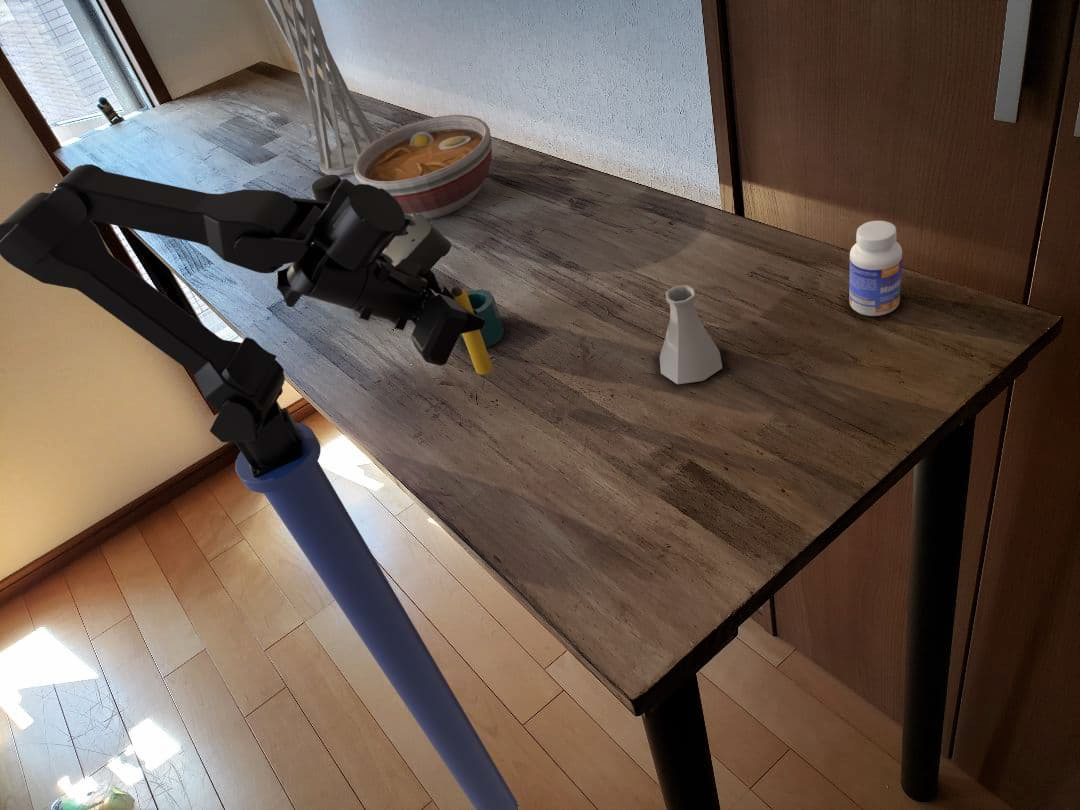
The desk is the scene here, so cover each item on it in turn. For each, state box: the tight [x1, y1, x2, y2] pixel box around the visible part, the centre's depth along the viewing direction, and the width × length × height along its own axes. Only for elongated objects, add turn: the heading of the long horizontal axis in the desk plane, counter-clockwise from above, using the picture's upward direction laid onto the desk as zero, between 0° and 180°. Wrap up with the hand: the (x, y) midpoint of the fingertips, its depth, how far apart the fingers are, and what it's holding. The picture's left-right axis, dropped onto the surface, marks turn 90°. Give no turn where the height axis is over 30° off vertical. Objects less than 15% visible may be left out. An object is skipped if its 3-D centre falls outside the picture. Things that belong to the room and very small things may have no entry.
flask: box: [659, 284, 723, 385], centre depth 93 cm, size 7×7×10 cm
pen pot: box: [460, 289, 505, 349], centre depth 108 cm, size 5×5×6 cm
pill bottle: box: [848, 220, 903, 317], centre depth 93 cm, size 5×5×10 cm
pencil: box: [450, 285, 493, 376], centre depth 95 cm, size 2×2×12 cm
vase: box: [263, 0, 380, 177], centre depth 153 cm, size 14×13×35 cm
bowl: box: [353, 114, 493, 220], centre depth 138 cm, size 23×23×10 cm
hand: (479, 319), depth 95 cm, fingers closed on pencil, 2 cm apart
